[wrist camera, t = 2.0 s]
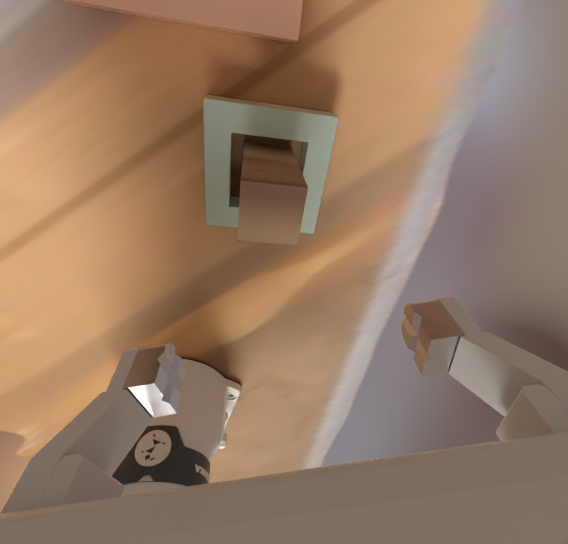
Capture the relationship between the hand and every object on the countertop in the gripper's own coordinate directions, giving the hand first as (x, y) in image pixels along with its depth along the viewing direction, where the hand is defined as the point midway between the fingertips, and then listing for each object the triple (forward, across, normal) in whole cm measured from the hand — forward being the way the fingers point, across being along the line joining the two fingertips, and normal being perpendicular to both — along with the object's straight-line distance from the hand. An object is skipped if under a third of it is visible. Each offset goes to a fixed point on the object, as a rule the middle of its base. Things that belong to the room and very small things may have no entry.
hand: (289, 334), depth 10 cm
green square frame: (+20, 0, 0) cm, 20 cm away
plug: (+20, 0, 0) cm, 20 cm away
